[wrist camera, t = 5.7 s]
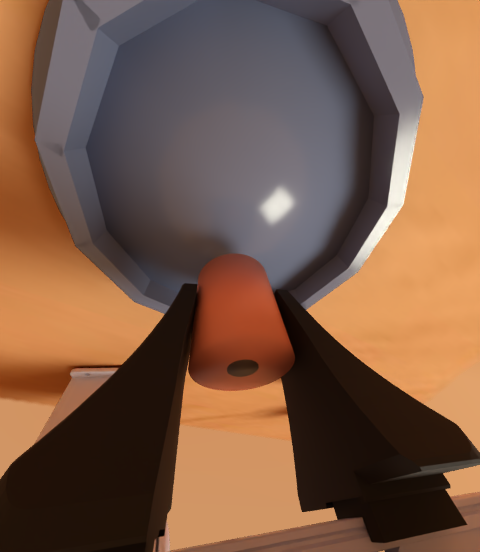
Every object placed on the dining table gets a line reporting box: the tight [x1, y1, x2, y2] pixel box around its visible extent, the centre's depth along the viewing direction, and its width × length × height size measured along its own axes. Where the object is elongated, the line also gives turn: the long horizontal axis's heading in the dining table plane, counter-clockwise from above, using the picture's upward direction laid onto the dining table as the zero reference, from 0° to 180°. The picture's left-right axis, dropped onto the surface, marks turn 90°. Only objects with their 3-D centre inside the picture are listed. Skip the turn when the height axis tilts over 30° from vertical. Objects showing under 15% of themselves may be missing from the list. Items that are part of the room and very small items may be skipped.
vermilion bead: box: [188, 254, 295, 391], centre depth 9 cm, size 4×4×5 cm
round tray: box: [31, 0, 423, 314], centre depth 10 cm, size 18×18×2 cm
